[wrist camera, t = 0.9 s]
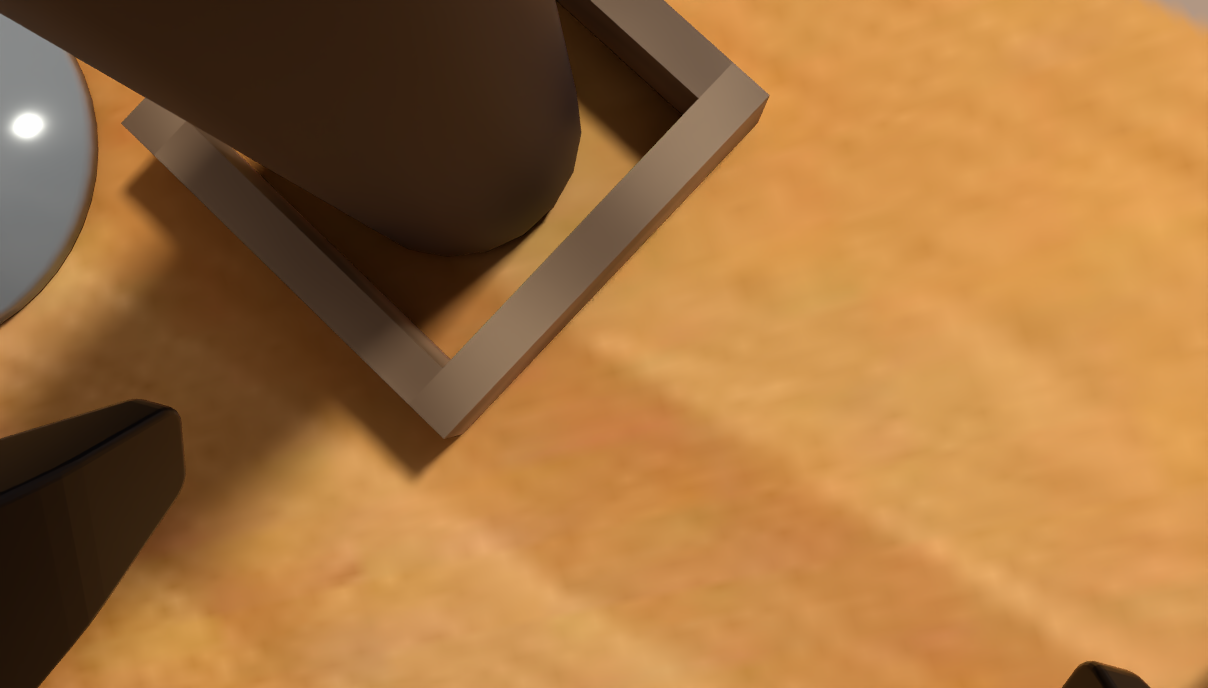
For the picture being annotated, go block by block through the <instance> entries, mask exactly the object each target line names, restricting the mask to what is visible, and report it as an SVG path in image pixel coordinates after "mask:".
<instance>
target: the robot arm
mask: <svg viewBox="0 0 1208 688" xmlns="http://www.w3.org/2000/svg"><path fill="white" fill-rule="evenodd" d="M184 479H185V458H184V447H183V436H182V424H181V418H180V416H179V414H178V412H177V411H176V410H174V409H173V408H171V407H168V406H165V405H161V404H158V403H154V402H150V401H147V400H142V399H131V400H127V401H124V402H120V403H117V404H114V405H111V406H107V407H104V408H101V409H97V410H94V411H91V412H87V413H84V414H81V415H77V416H74V417H71V418H67V419H64V420H61V421H57V422H54V423H51V424H47V425H44V426H41V427H38V428H34V429H31V430H28V431H24V432H21V433H18V434H14V435H11V436H8V437H4V438H1V439H0V688H38V687H39V686H40V684H41V683H42V682H43V681H44V680H45V678H46V677H47V676H48V675H49V674H50V672H51V671H52V670H53V669H54V668H55V666H56V665H57V664H58V663H59V662H60V660H61V659H62V658H63V657H64V656H65V654H66V653H67V652H68V651H69V650H70V648H71V647H72V646H73V645H74V644H75V642H76V641H77V640H78V639H79V637H80V636H81V635H82V634H83V632H84V631H85V630H86V629H87V627H88V626H89V625H90V623H91V622H92V621H93V619H94V618H95V617H96V615H97V614H98V612H99V611H100V610H101V608H102V607H103V606H104V604H105V603H106V601H107V600H108V598H109V597H110V595H111V594H112V592H113V591H114V590H115V588H116V587H117V585H118V584H119V582H120V581H121V579H122V578H123V576H124V575H125V573H126V572H127V570H128V569H129V567H130V566H131V564H132V563H133V562H134V560H135V559H136V557H137V556H138V554H139V553H140V551H141V550H142V548H143V547H144V545H145V544H146V542H147V541H148V539H149V538H150V536H151V535H152V534H153V532H154V531H155V529H156V528H157V526H158V525H159V523H160V522H161V520H162V519H163V517H164V516H165V514H166V513H167V511H168V510H169V508H170V507H171V506H172V504H173V503H174V501H175V500H176V498H177V496H178V495H179V493H180V491H181V489H182V486H183V483H184ZM1062 688H1150V687H1149V686H1148V685H1147V684H1146V683H1145V682H1144V681H1143V680H1142V679H1141V678H1140V677H1139V676H1137V675H1136V674H1134V673H1132V672H1130V671H1128V670H1125V669H1121V668H1117V667H1114V666H1110V665H1107V664H1103V663H1099V662H1095V661H1087V662H1084V663H1082V664H1080V665H1079V666H1078V667H1077V668H1076V669H1075V670H1074V672H1073V673H1072V675H1071V676H1070V677H1069V679H1068V680H1067V681H1066V683H1065V684H1064V685H1063V687H1062Z"/></svg>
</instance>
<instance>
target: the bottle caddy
mask: <svg viewBox="0 0 1208 688" xmlns="http://www.w3.org/2000/svg"><path fill="white" fill-rule="evenodd" d="M557 1H558V2H559V3H560V4H561V5H562V6H563V7H564V8H565V9H567V10H568V11H569V12H570V13H571V14H572V15H573V16H574V17H575V18H576V19H578V20H579V21H580V22H581V23H582V24H583V25H584V26H585V27H586V28H587V29H589V30H590V31H591V32H592V33H593V34H594V35H595V36H596V37H597V38H598V39H600V40H601V41H602V42H603V43H604V44H605V45H606V46H607V47H608V48H609V49H611V50H612V51H613V52H614V53H615V54H616V55H617V56H618V57H619V58H620V59H621V60H623V61H624V62H625V63H626V64H627V65H628V66H629V67H630V68H631V69H632V70H634V71H635V72H636V73H637V74H638V75H639V76H640V77H641V78H642V79H643V80H645V81H646V82H647V83H648V84H649V85H650V86H651V87H652V88H653V89H654V90H656V91H657V92H658V93H659V94H660V95H661V96H662V97H663V98H664V99H665V100H667V101H668V102H669V103H670V104H671V105H672V106H673V107H674V108H675V109H676V110H678V111H679V112H680V113H681V114H682V115H683V116H682V117H681V118H680V119H679V120H678V121H677V122H676V123H675V124H674V125H673V126H672V127H671V128H670V129H669V130H668V131H667V133H666V134H665V135H664V136H663V137H662V138H661V139H660V140H659V141H658V142H657V143H656V144H655V145H654V146H653V147H652V148H651V149H650V150H649V151H648V153H647V154H646V155H645V156H644V157H643V158H642V159H641V160H640V161H639V162H638V163H637V164H636V165H635V166H634V167H633V168H632V169H631V170H630V172H629V173H628V174H627V175H626V176H625V177H624V178H623V179H622V180H621V181H620V182H619V183H618V184H617V185H616V186H615V187H614V188H613V189H612V190H611V192H610V193H609V194H608V195H607V196H606V197H605V198H604V199H603V200H602V201H601V202H600V203H599V204H598V205H597V206H596V207H595V208H594V209H593V211H592V212H591V213H590V214H589V215H588V216H587V217H586V218H585V219H584V220H583V221H582V222H581V223H580V224H579V225H578V226H577V227H576V228H575V229H574V231H573V232H572V233H571V234H570V235H569V236H568V237H567V238H566V239H565V240H564V241H563V242H562V243H561V244H560V245H559V246H558V247H557V248H556V250H555V251H554V252H553V253H552V254H551V255H550V256H549V257H548V258H547V259H546V260H545V261H544V262H543V263H542V264H541V265H540V266H539V267H538V268H537V270H536V271H535V272H534V273H533V274H532V275H531V276H530V277H529V278H528V279H527V280H526V281H525V282H524V283H523V284H522V285H521V286H520V287H519V289H518V290H517V291H516V292H515V293H514V294H513V295H512V296H511V297H510V298H509V299H508V300H507V301H506V302H505V303H504V304H503V305H502V306H501V307H500V309H499V310H498V311H497V312H496V313H495V314H494V315H493V316H492V317H491V318H490V319H489V320H488V321H487V322H486V323H485V324H484V325H483V326H482V328H481V329H480V330H479V331H478V332H477V333H476V334H475V335H474V336H473V337H472V338H471V339H470V340H469V341H468V342H467V343H466V344H465V345H464V346H463V348H462V349H461V350H460V351H459V352H458V353H457V354H456V355H455V356H454V357H453V358H452V359H450V358H449V357H448V356H446V355H445V354H444V353H443V352H442V351H441V350H440V349H439V348H438V347H437V346H436V345H435V344H434V343H433V342H432V341H431V340H430V339H429V338H428V337H427V336H426V335H425V334H424V333H423V332H422V331H421V330H420V329H419V328H418V327H417V326H415V325H414V324H413V323H412V322H411V321H410V320H409V319H408V318H407V317H406V316H405V315H404V314H403V313H402V312H401V311H400V310H399V309H398V308H397V307H396V306H395V305H394V304H393V303H392V302H391V301H390V300H389V299H388V298H387V297H386V296H384V295H383V294H382V293H381V292H380V291H379V290H378V289H377V288H376V287H375V286H374V285H373V284H372V283H371V282H370V281H369V280H368V279H367V278H366V277H365V276H364V275H363V274H362V273H361V272H360V271H359V270H358V269H357V268H356V267H355V266H353V265H352V264H351V263H350V262H349V261H348V260H347V259H346V258H345V257H344V256H343V255H342V254H341V253H340V252H339V251H338V250H337V249H336V248H335V247H334V246H333V245H332V244H331V243H330V242H329V241H328V240H327V239H326V238H325V237H324V236H322V235H321V234H320V233H319V232H318V231H317V230H316V229H315V228H314V227H313V226H312V225H311V224H310V223H309V222H308V221H307V220H306V219H305V218H304V217H303V216H302V215H301V214H300V213H299V212H298V211H297V210H296V209H295V208H294V207H293V206H291V205H290V204H289V203H288V202H287V201H286V200H285V199H284V198H283V197H282V196H281V195H280V194H279V193H278V192H277V191H276V190H275V189H274V188H273V187H272V186H271V185H270V184H269V183H268V182H267V181H266V180H265V179H264V178H263V177H262V176H260V175H259V174H258V173H257V172H256V171H255V170H254V169H253V168H252V167H251V166H250V165H249V164H248V163H247V162H246V161H245V160H244V159H243V158H242V157H241V156H240V155H239V154H238V153H237V152H236V151H235V150H234V149H233V148H232V147H230V146H228V145H227V144H225V143H223V142H221V141H220V140H218V139H216V138H214V137H213V136H211V135H209V134H208V133H206V132H204V131H202V130H201V129H199V128H197V127H195V126H194V125H192V124H190V123H189V122H187V121H185V120H183V119H182V118H180V117H178V116H176V115H175V114H173V113H171V112H170V111H168V110H166V109H164V108H163V107H161V106H159V105H157V104H156V103H154V102H152V101H151V100H149V99H147V98H145V99H144V100H143V101H142V102H141V103H140V104H139V105H138V106H137V107H136V108H135V109H134V110H133V111H132V112H131V113H130V114H129V115H128V117H127V118H126V119H125V120H124V121H123V122H122V123H121V124H122V125H123V126H124V127H125V128H127V129H128V130H129V131H130V132H131V133H132V134H133V135H134V136H135V137H136V138H137V139H138V140H139V141H140V142H141V143H142V144H143V145H144V146H145V147H146V148H147V149H148V150H149V151H150V152H151V153H152V154H153V155H154V156H155V157H156V158H157V159H158V160H159V161H160V162H161V163H162V164H163V165H164V166H165V167H166V168H167V169H168V170H169V171H170V172H171V173H173V174H174V175H175V176H176V177H177V178H178V179H179V180H180V181H181V182H182V183H183V184H184V185H185V186H186V187H187V188H188V189H189V190H190V191H191V192H192V193H193V194H194V195H195V196H196V197H197V198H198V199H199V200H200V201H201V202H202V203H203V204H204V205H205V206H206V207H207V208H208V209H209V210H210V211H211V212H212V213H213V214H214V215H215V216H216V217H217V218H218V219H220V220H221V221H222V222H223V223H224V224H225V225H226V226H227V227H228V228H229V229H230V230H231V231H232V232H233V233H234V234H235V235H236V236H237V237H238V238H239V239H240V240H241V241H242V242H243V243H244V244H245V245H246V246H247V247H248V248H249V249H250V250H251V251H252V252H253V253H254V254H255V255H256V256H257V257H258V258H259V259H260V260H261V261H262V262H263V263H264V264H265V265H267V266H268V267H269V268H270V269H271V270H272V271H273V272H274V273H275V274H276V275H277V276H278V277H279V278H280V279H281V280H282V281H283V282H284V283H285V284H286V285H287V286H288V287H289V288H290V289H291V290H292V291H293V292H294V293H295V294H296V295H297V296H298V297H299V298H300V299H301V300H302V301H303V302H304V303H305V304H306V305H307V306H308V307H309V308H310V309H311V310H312V311H314V312H315V313H316V314H317V315H318V316H319V317H320V318H321V319H322V320H323V321H324V322H325V323H326V324H327V325H328V326H329V327H330V328H331V329H332V330H333V331H334V332H335V333H336V334H337V335H338V336H339V337H340V338H341V339H342V340H343V341H344V342H345V343H346V344H347V345H348V346H349V347H350V348H351V349H352V350H353V351H354V352H355V353H356V354H357V355H358V356H360V357H361V358H362V359H363V360H364V361H365V362H366V363H367V364H368V365H369V366H370V367H371V368H372V369H373V370H374V371H375V372H376V373H377V374H378V375H379V376H380V377H381V378H382V379H383V380H384V381H385V382H386V383H387V384H388V385H389V386H390V387H391V388H392V389H393V390H394V391H395V392H396V393H397V394H398V395H399V396H400V397H401V398H402V399H403V400H404V401H405V402H407V403H408V404H409V405H410V406H411V407H412V408H413V409H414V410H415V411H416V412H417V413H418V414H419V415H420V416H421V417H422V418H423V419H424V420H425V421H426V422H427V423H428V424H429V425H430V426H431V427H432V428H433V429H434V430H435V431H436V432H437V433H438V434H439V435H440V436H441V437H442V438H443V439H446V438H449V437H453V436H457V435H461V434H463V433H464V432H465V431H466V430H467V429H468V428H469V427H470V426H471V425H472V424H473V422H474V421H475V420H476V419H477V418H478V417H479V416H480V415H481V414H482V413H483V412H484V411H485V410H486V409H487V408H488V407H489V406H490V405H491V404H492V402H493V401H494V400H495V399H496V398H497V397H498V396H499V395H500V394H501V393H502V392H503V391H504V390H505V389H506V388H507V387H508V386H509V385H510V383H511V382H512V381H513V380H514V379H515V378H516V377H517V376H518V375H519V374H520V373H521V372H522V371H523V370H524V369H525V368H526V367H527V366H528V364H529V363H530V362H531V361H532V360H533V359H534V358H535V357H536V356H537V355H538V354H539V353H540V352H541V351H542V350H543V349H544V348H545V347H546V345H547V344H548V343H549V342H550V341H551V340H552V339H553V338H554V337H555V336H556V335H557V334H558V333H559V332H560V331H561V330H562V329H563V328H564V327H565V325H566V324H567V323H568V322H569V321H570V320H571V319H572V318H573V317H574V316H575V315H576V314H577V313H578V312H579V311H580V310H581V309H582V308H583V306H584V305H585V304H586V303H587V302H588V301H589V300H590V299H591V298H592V297H593V296H594V295H595V294H596V293H597V292H598V291H599V290H600V289H601V287H602V286H603V285H604V284H605V283H606V282H607V281H608V280H609V279H610V278H611V277H612V276H613V275H614V274H615V273H616V272H617V271H618V270H619V268H620V267H621V266H622V265H623V264H624V263H625V262H626V261H627V260H628V259H629V258H630V257H631V256H632V255H633V254H634V253H635V252H636V251H637V250H638V248H639V247H640V246H641V245H642V244H643V243H644V242H645V241H646V240H647V239H648V238H649V237H650V236H651V235H652V234H653V233H654V232H655V231H656V229H657V228H658V227H659V226H660V225H661V224H662V223H663V222H664V221H665V220H666V219H667V218H668V217H669V216H670V215H671V214H672V213H673V212H674V210H675V209H676V208H677V207H678V206H679V205H680V204H681V203H682V202H683V201H684V200H685V199H686V198H687V197H688V196H689V195H690V194H691V193H692V191H693V190H694V189H695V188H696V187H697V186H698V185H699V184H700V183H701V182H702V181H703V180H704V179H705V178H706V177H707V176H708V175H709V174H710V173H711V171H712V170H713V169H714V168H715V167H716V166H717V165H718V164H719V163H720V162H721V161H722V160H723V159H724V158H725V157H726V156H727V155H728V154H729V152H730V151H731V150H732V149H733V148H734V147H735V146H736V145H737V144H738V143H739V142H740V141H741V140H742V139H743V138H744V137H745V136H746V135H747V133H748V132H749V131H750V130H751V129H752V128H753V127H754V126H755V125H756V124H757V123H758V121H759V119H760V116H761V114H762V112H763V109H764V107H765V105H766V102H767V100H768V98H769V96H770V95H769V94H767V93H766V92H765V91H764V90H763V89H762V88H761V87H760V86H759V85H757V84H756V83H755V82H754V81H753V80H752V79H751V78H750V77H749V76H747V75H746V74H745V73H744V72H743V71H742V70H741V69H740V68H739V67H737V66H736V65H735V64H734V63H733V62H732V61H731V60H730V59H728V58H727V57H726V56H725V55H724V54H723V53H722V52H721V51H720V50H718V49H717V48H716V47H715V46H714V45H713V44H712V43H711V42H710V41H708V40H707V39H706V38H705V37H704V36H703V35H702V34H701V33H700V32H698V31H697V30H696V29H695V28H694V27H693V26H692V25H691V24H690V23H688V22H687V21H686V20H685V19H684V18H683V17H682V16H681V15H679V14H678V13H677V12H676V11H675V10H674V9H673V8H672V7H671V6H669V5H668V4H667V3H666V2H665V1H664V0H557Z"/></svg>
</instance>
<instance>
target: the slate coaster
mask: <svg viewBox="0 0 1208 688" xmlns="http://www.w3.org/2000/svg"><path fill="white" fill-rule="evenodd" d="M97 160H98V136H97V123H96V117H95V112H94V107H93V101H92V98H91V95H90V92H89V89H88V86H87V83H86V79H85V76H84V74H83V72H82V70H81V68H80V66H79V64H78V62H77V60H76V58H75V56H73V55H71V54H69V53H68V52H66V51H64V50H62V49H61V48H59V47H57V46H56V45H54V44H52V43H50V42H49V41H47V40H45V39H43V38H42V37H40V36H38V35H37V34H35V33H33V32H31V31H30V30H28V29H26V28H24V27H23V26H21V25H19V24H18V23H16V22H14V21H12V20H11V19H9V18H7V17H5V16H4V15H2V14H0V324H1V323H3V322H4V321H5V320H7V319H8V318H10V317H11V316H12V315H14V314H15V313H17V312H18V311H19V310H21V309H22V308H23V307H24V306H25V305H26V304H27V303H28V302H30V301H31V300H32V299H33V298H34V297H35V296H36V295H37V294H38V293H39V292H40V291H41V290H42V289H43V288H44V287H45V285H46V284H47V283H48V282H49V281H50V279H51V278H52V277H53V276H54V275H55V273H56V272H57V271H58V269H59V268H60V266H61V265H62V263H63V262H64V260H65V259H66V257H67V256H68V254H69V252H70V251H71V249H72V247H73V245H74V243H75V241H76V239H77V237H78V235H79V233H80V231H81V229H82V227H83V224H84V221H85V218H86V215H87V212H88V209H89V206H90V203H91V200H92V195H93V190H94V185H95V180H96V174H97Z"/></svg>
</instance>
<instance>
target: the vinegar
mask: <svg viewBox="0 0 1208 688" xmlns="http://www.w3.org/2000/svg"><path fill="white" fill-rule="evenodd" d="M0 14H2V15H4V16H5V17H7V18H9V19H11V20H12V21H14V22H16V23H18V24H19V25H21V26H23V27H24V28H26V29H28V30H30V31H31V32H33V33H35V34H37V35H38V36H40V37H42V38H43V39H45V40H47V41H49V42H50V43H52V44H54V45H56V46H57V47H59V48H61V49H62V50H64V51H66V52H68V53H69V54H71V55H73V56H75V57H76V58H78V59H80V60H81V61H83V62H85V63H87V64H88V65H90V66H92V67H94V68H95V69H97V70H99V71H100V72H102V73H104V74H106V75H107V76H109V77H111V78H113V79H114V80H116V81H118V82H119V83H121V84H123V85H125V86H126V87H128V88H130V89H132V90H133V91H135V92H137V93H138V94H140V95H142V96H144V97H145V98H147V99H149V100H151V101H152V102H154V103H156V104H157V105H159V106H161V107H163V108H164V109H166V110H168V111H170V112H171V113H173V114H175V115H176V116H178V117H180V118H182V119H183V120H185V121H187V122H189V123H190V124H192V125H194V126H195V127H197V128H199V129H201V130H202V131H204V132H206V133H208V134H209V135H211V136H213V137H214V138H216V139H218V140H220V141H221V142H223V143H225V144H227V145H228V146H230V147H232V148H233V149H235V150H237V151H239V152H240V153H242V154H244V155H246V156H247V157H249V158H251V159H252V160H254V161H256V162H258V163H259V164H261V165H263V166H265V167H266V168H268V169H270V170H271V171H273V172H275V173H277V174H278V175H280V176H282V177H284V178H285V179H287V180H289V181H290V182H292V183H294V184H296V185H297V186H299V187H301V188H303V189H304V190H306V191H308V192H309V193H311V194H313V195H315V196H316V197H318V198H320V199H322V200H323V201H325V202H327V203H328V204H330V205H332V206H334V207H335V208H337V209H339V210H341V211H342V212H344V213H346V214H348V215H349V216H351V217H353V218H354V219H356V220H358V221H360V222H361V223H363V224H365V225H367V226H368V227H370V228H372V229H373V230H375V231H377V232H379V233H381V234H382V235H384V236H386V237H388V238H389V239H391V240H393V241H395V242H397V243H398V244H400V245H402V246H404V247H405V248H407V249H411V250H416V251H421V252H426V253H431V254H436V255H442V256H447V257H448V256H456V255H464V254H472V253H480V252H487V251H489V250H491V249H494V248H496V247H498V246H500V245H502V244H504V243H507V242H509V241H511V240H513V239H515V238H517V237H519V236H522V235H524V234H525V233H526V232H527V231H528V230H529V229H530V228H531V227H532V226H533V225H534V224H536V223H537V222H538V221H539V220H540V219H541V218H542V217H543V216H544V215H545V214H546V213H547V212H549V211H550V210H551V209H552V208H553V207H554V205H555V203H556V202H557V200H558V198H559V196H560V194H561V193H562V191H563V189H564V187H565V186H566V184H567V182H568V180H569V179H570V177H571V175H572V173H573V171H574V166H575V161H576V156H577V151H578V146H579V142H580V137H581V126H580V117H579V109H578V100H577V92H576V88H575V84H574V79H573V75H572V71H571V66H570V62H569V58H568V53H567V49H566V44H565V40H564V36H563V31H562V27H561V23H560V18H559V14H558V10H557V5H556V1H555V0H0Z"/></svg>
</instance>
